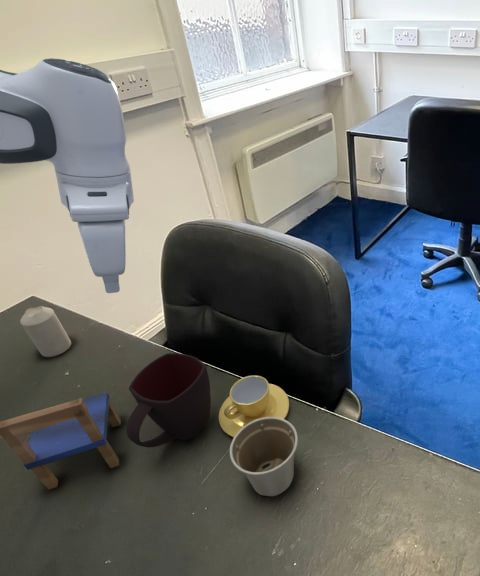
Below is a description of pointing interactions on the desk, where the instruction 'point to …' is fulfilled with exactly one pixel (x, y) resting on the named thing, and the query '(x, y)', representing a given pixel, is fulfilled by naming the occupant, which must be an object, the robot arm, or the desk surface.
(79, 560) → the desk surface
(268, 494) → the flower pot
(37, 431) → the chair
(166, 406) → the mug
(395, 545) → the desk surface
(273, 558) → the desk surface
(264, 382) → the cup
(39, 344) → the candle
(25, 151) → the robot arm
